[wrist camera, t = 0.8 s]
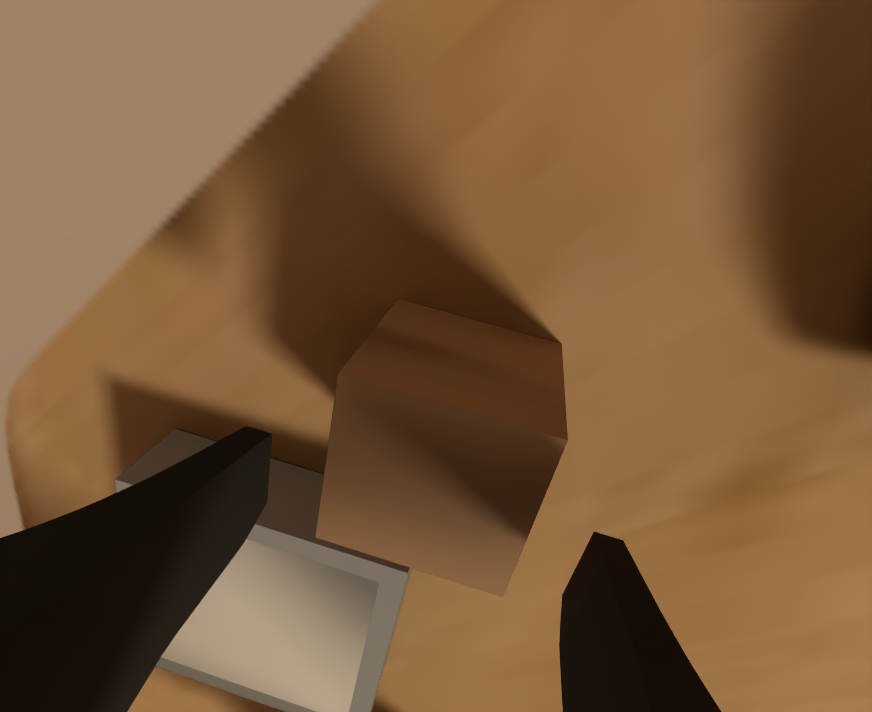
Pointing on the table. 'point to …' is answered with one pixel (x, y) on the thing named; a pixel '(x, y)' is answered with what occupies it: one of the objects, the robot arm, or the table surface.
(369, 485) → the walnut cube
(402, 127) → the table surface
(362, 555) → the grey plinth
